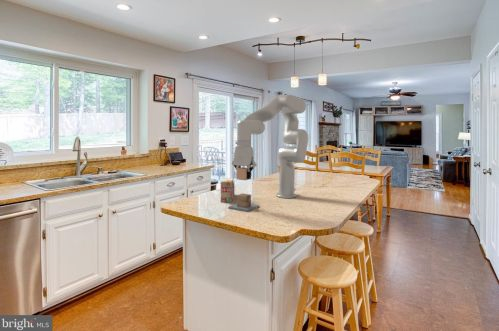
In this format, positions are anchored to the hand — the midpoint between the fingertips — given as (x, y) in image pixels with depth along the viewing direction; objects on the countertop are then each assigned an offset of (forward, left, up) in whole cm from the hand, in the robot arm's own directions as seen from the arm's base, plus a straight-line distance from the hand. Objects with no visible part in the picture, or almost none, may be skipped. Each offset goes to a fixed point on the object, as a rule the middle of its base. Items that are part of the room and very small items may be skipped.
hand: (243, 177), depth 165 cm
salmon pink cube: (0, 0, -1) cm, 1 cm away
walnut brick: (0, 0, -15) cm, 15 cm away
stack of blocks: (-14, -21, -17) cm, 30 cm away
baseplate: (0, 0, -16) cm, 16 cm away
